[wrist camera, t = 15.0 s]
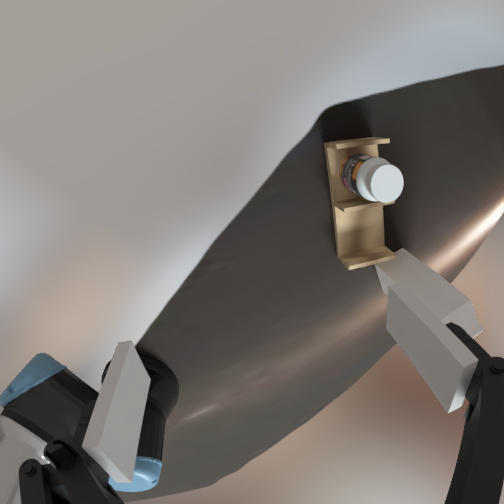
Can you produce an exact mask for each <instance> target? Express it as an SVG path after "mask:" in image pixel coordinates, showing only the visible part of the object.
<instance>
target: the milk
mask: <svg viewBox="0 0 504 504" xmlns="http://www.w3.org/2000/svg"><path fill="white" fill-rule="evenodd" d="M394 253H395V254H396V259H392V260H388V261H384V262H380V263H376V264H375V267H376V270H377V274H378V277H379V281H380V284H381V288H382V290H383V292H384V293H385V294H386V295H387V296H388V286H389V285H393V284H396V283H400V282H401V283H402V284H403V285H404V286H405V287H406V288H408V289H409V290H410V291H411V292H412V293H413V294H414V295H415V296H416V297H417V298H418V299H419V300H420V301H421V302H422V303H423V304H424V305H425V306H426V307H427V308H428V309H429V310H430V311H432V312H433V313H434V314H435V315H436V316H437V317H438V318H439V319H440V320H441V321H442V322H443V323H444V324H447V323H450V322H452V323H454V324H457V325H459V326H461V327H462V328H463V329H464V330H465V331H466V332H467V334H469V335H470V336H471V337H472V339H473V338H474V337H475V336H477V335H478V334H479V333H480V332H482V331H483V330H484V327H483V326H482V325H481V324H479V322H478V319H477V316H476V313H475V311H474V308H473V305H472V302H471V300H470V299H469V298H467V297H466V296H465V295H464V294H463V293H461V292H460V291H459V290H458V289H456V288H455V287H454V286H453V285H451V284H450V283H449V282H448V281H446V280H445V279H444V278H442V277H441V276H440V275H438V274H437V273H436V272H435V271H433V270H432V269H431V268H429V267H428V266H427V265H425V264H424V263H423V262H421V261H420V260H419V259H417V258H416V257H415V256H413V255H412V254H410V253H409V252H408V251H406V250H405V249H403V248H401V249H400V250H398V251H396V252H394Z"/></svg>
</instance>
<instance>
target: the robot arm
mask: <svg viewBox="0 0 504 504" xmlns="http://www.w3.org/2000/svg"><path fill="white" fill-rule="evenodd" d="M386 329H387V330H388V332H389V333H390V334H391V336H392V337H393V338H394V340H395V341H396V342H397V344H398V345H399V346H400V347H401V349H402V350H403V352H404V353H405V354H406V356H407V357H408V358H409V360H410V361H411V362H412V363H413V365H414V366H415V368H416V369H417V370H418V372H419V373H420V375H421V376H422V377H423V379H424V380H425V381H426V383H427V384H428V386H429V387H430V388H431V390H432V391H433V393H434V394H435V396H436V397H437V398H438V400H439V401H440V403H441V404H442V406H443V407H444V408H445V410H446V411H447V413H449V412H451V411H453V410H455V409H457V408H459V407H461V406H462V404H463V402H464V399H465V397H466V398H467V400H468V401H469V402H470V403H469V405H468V407H467V410H466V412H465V414H464V417H463V418H465V417H466V420H465V426H464V431H463V437H462V441H461V446H460V450H459V455H458V459H457V463H456V467H455V471H454V474H453V478H452V481H451V485H450V488H449V491H448V494H447V497H446V501H445V504H499V500H500V495H501V491H502V486H503V480H504V359H503V358H501V357H491V356H490V355H489V354H488V353H487V352H486V351H485V350H484V349H483V348H482V347H481V346H480V345H479V344H478V343H477V342H476V341H475V340H474V339H472V337H471V336H470V335H469V334H467V332H466V331H465V330H464V329H463V328H462V327H461V326H459V325H457V324H454V323H452V322H450V323H447V324H444V323H443V322H442V321H441V320H440V319H439V318H438V317H437V316H436V315H435V314H434V313H433V312H432V311H430V310H429V309H428V308H427V307H426V306H425V305H424V304H423V303H422V302H421V301H420V300H419V299H418V298H417V297H416V296H415V295H414V294H413V293H412V292H411V291H410V290H409V289H408V288H406V287H405V286H404V285H403V284H402V283H401V282H400V283H396V284H393V285H389V286H388V307H387V327H386ZM178 393H179V384H178V381H177V379H176V377H175V375H174V374H173V373H172V372H171V371H170V369H168V368H167V367H166V366H165V365H163V364H162V363H160V362H158V361H156V360H154V359H152V358H149V357H146V356H142V355H138V353H137V351H136V349H135V347H134V345H133V343H132V341H126V342H119V343H118V345H117V347H116V350H115V353H114V355H113V358H112V360H111V361H109V362H108V364H107V365H106V367H105V369H104V372H103V375H102V388H101V390H100V393H98V392H97V391H95V390H94V389H92V388H91V387H90V386H89V385H87V384H86V383H85V382H83V381H82V380H81V379H80V378H78V377H77V376H76V375H75V374H73V373H72V372H71V371H70V370H68V369H67V367H66V366H64V365H62V364H60V363H59V362H58V361H56V360H55V359H54V358H52V357H51V356H50V355H48V354H46V353H39V354H37V355H36V356H35V357H34V358H33V359H32V360H31V361H30V362H29V363H28V364H27V365H26V366H25V368H24V369H23V370H22V371H21V372H20V373H19V374H18V375H17V376H16V378H15V379H14V380H13V381H12V382H11V383H10V385H9V386H8V387H7V389H6V390H5V391H4V392H3V393H2V394H1V395H0V406H1V407H4V410H3V411H2V413H1V415H0V423H1V427H2V431H3V434H2V436H1V438H0V504H124V503H123V501H122V500H121V498H120V497H119V496H118V494H117V493H116V491H115V490H118V491H126V492H139V491H145V490H148V489H151V488H152V487H154V486H155V485H156V484H157V482H158V480H159V476H160V471H161V467H162V452H163V442H164V432H165V423H166V419H167V418H168V416H169V414H170V413H171V411H172V409H173V407H174V406H175V405H176V403H177V400H178Z"/></svg>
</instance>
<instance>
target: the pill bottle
mask: <svg viewBox="0 0 504 504" xmlns="http://www.w3.org/2000/svg"><path fill="white" fill-rule="evenodd" d="M338 177H339V180H340V182H341V184H342V185H343V186H344V187H345V188H346V189H348V190H350V191H351V192H353V193H355V194H357V195H359V196H361V197H363V198H364V199H367V200H369V201H380V202H384V203H388V202H392V201H394V200H395V199H397V198H398V197H399V195H400V194H401V192H402V189H403V184H404V182H403V176H402V174H401V172H400V170H399V169H398V168H397V167H396V166H394V165H391V164H390V163H389V162H388V161H387V160H385V159H383V158H380V157H376V156H371V155H366V154H362V153H351V154H349V155H347V156H345V157H344V158H343V159H342V161H341V162H340V164H339V167H338Z"/></svg>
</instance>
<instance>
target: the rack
mask: <svg viewBox="0 0 504 504" xmlns="http://www.w3.org/2000/svg"><path fill="white" fill-rule="evenodd" d="M384 143H390V139H389V138H378V137H368V138H359V139H350V140H342V141H334V142H326V143H324V149H325V156H326V163H327V170H328V178H329V185H330V193H331V202H332V210H333V220H334V229H335V240H336V251H337V257H338V258H339V259H340V261H341V262H342V263H343V264H344V265H345V266H346V267H347V269H348V270H352V269H356V268H360V267H364V266H368V265H372V264H376V263H380V262H384V261H388V260H392V259H396V254H395V253H393V252H392V251H391V250H390V249H388V248H387V247H386V246H384V219H383V205H388V204H394V203H395V200H394V201H392V202H388V203H384V202H380V201H369V200H367V199H364V198H363V197H361V196H359V195H357V194H355V193H353V192H351V191H350V190H348V189H346V188H345V187H344V186H343V185H342V184H341V182H340V180H339V177H338V167H339V164H340V162H341V161H342V159H343V158H344V157H345V156H347V155H349V154H351V153H362V154H366V155H371V156H376V157H379V156H378V147H377V144H384Z"/></svg>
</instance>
